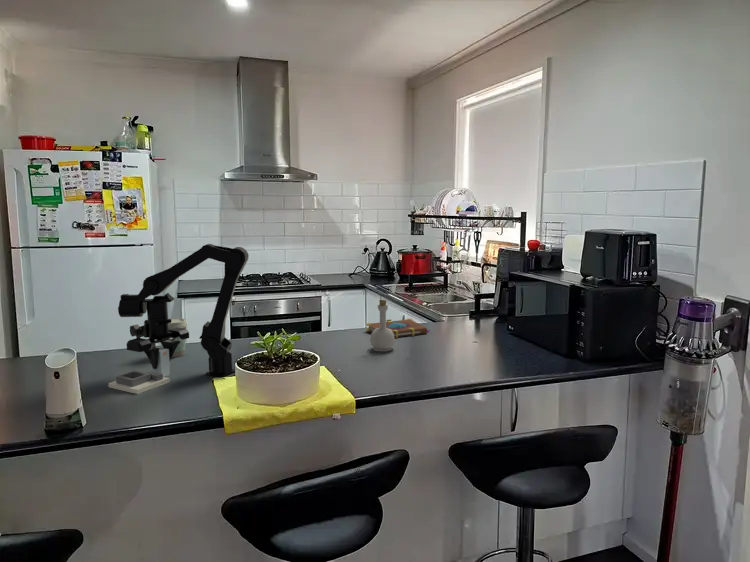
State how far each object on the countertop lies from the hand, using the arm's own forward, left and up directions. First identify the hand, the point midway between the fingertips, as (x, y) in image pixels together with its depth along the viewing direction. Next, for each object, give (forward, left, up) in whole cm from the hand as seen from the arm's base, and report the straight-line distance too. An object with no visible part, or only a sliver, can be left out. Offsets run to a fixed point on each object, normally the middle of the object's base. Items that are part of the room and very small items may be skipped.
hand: (160, 366), depth 162 cm
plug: (0, 0, -2) cm, 2 cm away
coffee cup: (+13, -17, -3) cm, 22 cm away
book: (-42, -83, -3) cm, 93 cm away
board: (-1, +9, -2) cm, 9 cm away
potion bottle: (-47, -56, -3) cm, 74 cm away
